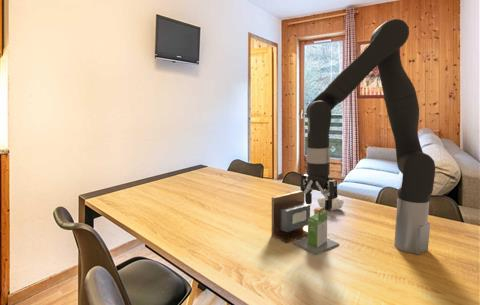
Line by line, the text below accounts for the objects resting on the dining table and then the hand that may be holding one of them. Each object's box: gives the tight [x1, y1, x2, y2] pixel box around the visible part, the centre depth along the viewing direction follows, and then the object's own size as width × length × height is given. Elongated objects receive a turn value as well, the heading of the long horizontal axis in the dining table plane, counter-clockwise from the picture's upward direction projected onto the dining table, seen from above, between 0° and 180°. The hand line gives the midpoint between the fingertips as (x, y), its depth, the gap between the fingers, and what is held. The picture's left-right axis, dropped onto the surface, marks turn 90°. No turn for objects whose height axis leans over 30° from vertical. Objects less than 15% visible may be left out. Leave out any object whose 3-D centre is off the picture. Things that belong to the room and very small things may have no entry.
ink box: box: [307, 207, 328, 248], centre depth 104 cm, size 7×4×13 cm, turn 136°
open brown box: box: [271, 190, 311, 244], centre depth 114 cm, size 8×16×15 cm, turn 124°
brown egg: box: [313, 207, 325, 215], centre depth 127 cm, size 4×4×5 cm
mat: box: [293, 236, 340, 256], centre depth 106 cm, size 10×12×1 cm
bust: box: [317, 190, 345, 212], centre depth 140 cm, size 12×8×11 cm
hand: (318, 206), depth 103 cm, fingers open, 8 cm apart
